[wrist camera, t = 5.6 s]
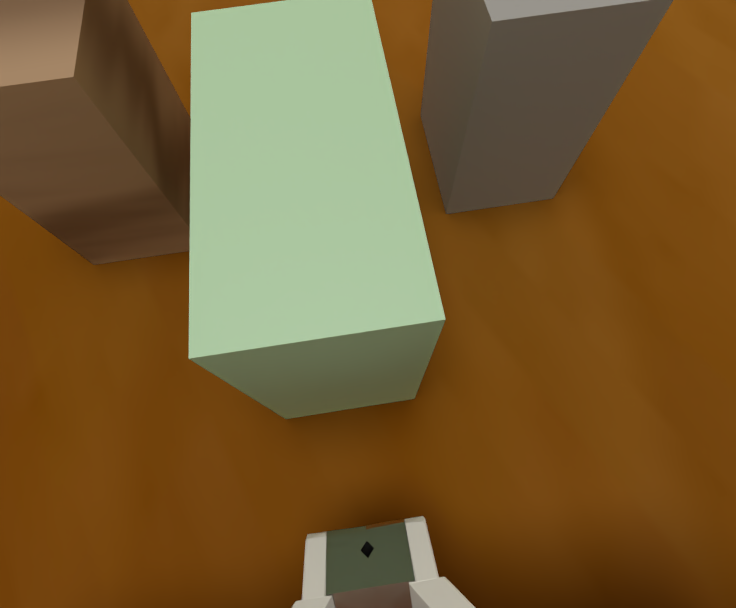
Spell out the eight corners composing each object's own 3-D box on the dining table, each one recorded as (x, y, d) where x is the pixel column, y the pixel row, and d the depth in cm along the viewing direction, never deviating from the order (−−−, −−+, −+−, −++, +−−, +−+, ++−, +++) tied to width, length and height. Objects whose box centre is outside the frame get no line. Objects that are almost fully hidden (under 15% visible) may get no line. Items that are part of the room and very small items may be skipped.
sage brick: (414, 399, 17) (445, 319, 8) (286, 419, 17) (188, 358, 8) (374, 188, 21) (369, -11, 12) (269, 203, 20) (191, 12, 12)
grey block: (552, 198, 20) (675, -4, 12) (446, 214, 20) (491, 21, 11) (516, 102, 22) (597, -125, 14) (420, 115, 22) (443, -106, 14)
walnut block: (205, 248, 20) (73, 76, 11) (94, 264, 19) (-124, 103, 11) (204, 145, 22) (94, -63, 13) (104, 159, 22) (-70, -42, 13)
